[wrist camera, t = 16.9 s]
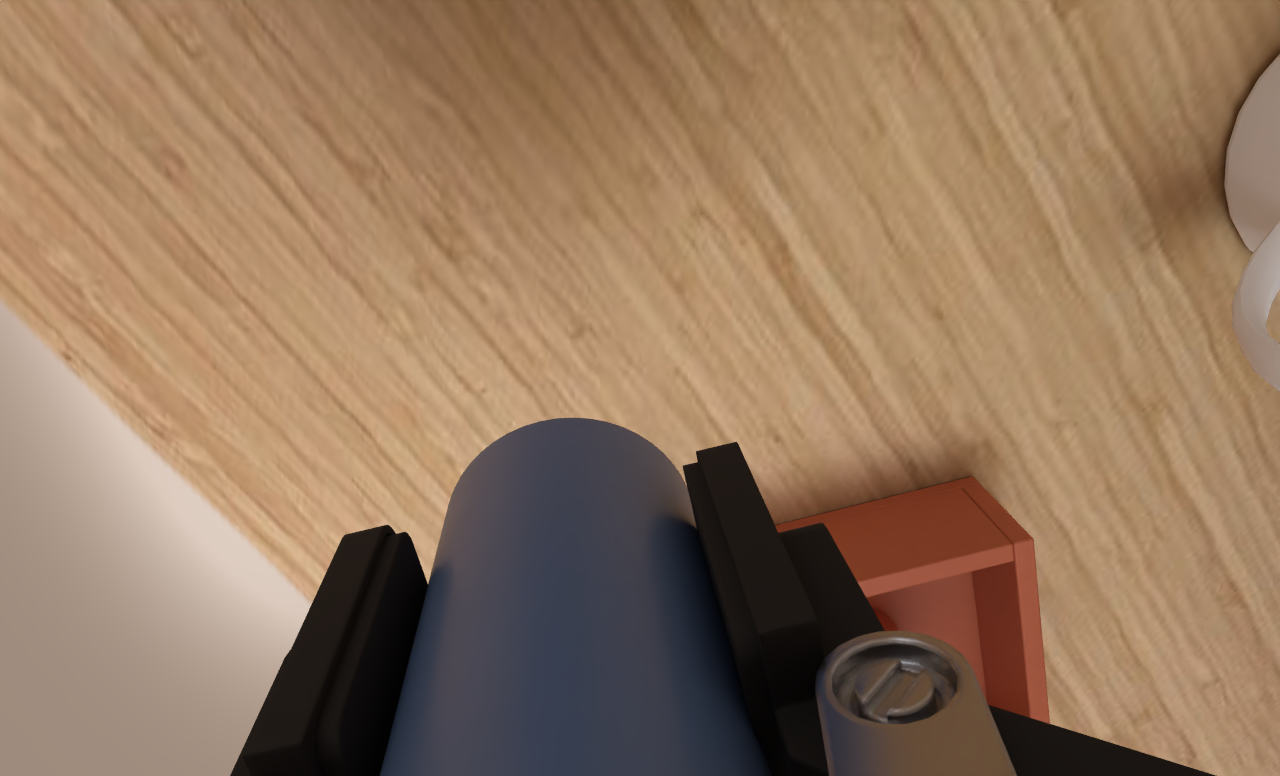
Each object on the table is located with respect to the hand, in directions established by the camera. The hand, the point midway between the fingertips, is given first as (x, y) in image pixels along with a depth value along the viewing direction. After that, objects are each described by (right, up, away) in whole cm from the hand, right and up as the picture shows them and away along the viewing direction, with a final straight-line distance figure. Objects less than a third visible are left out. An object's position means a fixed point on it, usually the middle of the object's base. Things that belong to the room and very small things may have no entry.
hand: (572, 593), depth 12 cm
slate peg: (0, +1, +2) cm, 2 cm away
